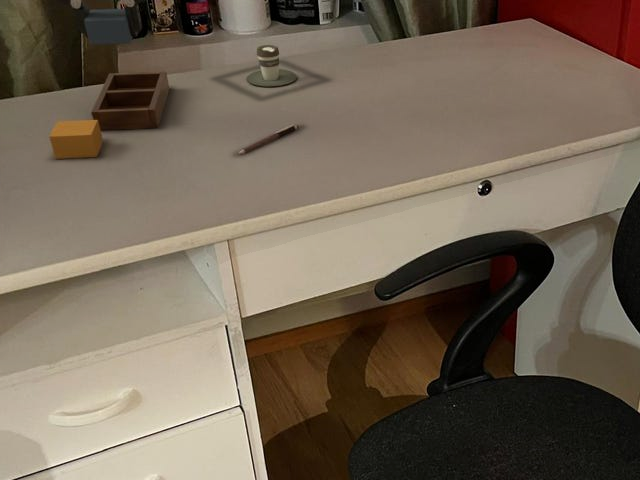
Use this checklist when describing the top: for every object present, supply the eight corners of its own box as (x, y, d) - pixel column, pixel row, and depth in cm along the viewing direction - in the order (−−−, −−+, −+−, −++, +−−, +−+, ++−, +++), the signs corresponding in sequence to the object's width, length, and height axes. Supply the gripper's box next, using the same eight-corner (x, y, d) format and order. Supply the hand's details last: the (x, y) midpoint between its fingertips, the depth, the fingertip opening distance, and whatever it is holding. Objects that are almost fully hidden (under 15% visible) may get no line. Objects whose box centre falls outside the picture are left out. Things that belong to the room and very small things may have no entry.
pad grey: (89, 44, 111) (83, 20, 109) (96, 33, 115) (90, 9, 113) (130, 43, 112) (125, 19, 110) (135, 31, 116) (130, 8, 114)
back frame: (95, 130, 117) (91, 112, 115) (113, 90, 129) (109, 73, 127) (158, 127, 118) (154, 109, 116) (169, 88, 130) (166, 71, 128)
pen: (296, 128, 119) (295, 121, 119) (300, 129, 119) (299, 123, 119) (236, 155, 112) (235, 148, 111) (240, 157, 112) (239, 150, 111)
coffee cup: (280, 61, 141) (276, 30, 138) (325, 80, 134) (323, 48, 131) (216, 78, 134) (210, 45, 131) (260, 99, 127) (256, 65, 124)
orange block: (55, 159, 109) (48, 136, 107) (63, 143, 113) (57, 121, 111) (97, 157, 110) (91, 134, 108) (103, 141, 114) (97, 119, 112)
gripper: (145, -116, 107) (171, 25, 117) (22, -116, 105) (60, 28, 115) (137, -105, 101) (166, 42, 111) (6, -105, 99) (48, 46, 109)
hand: (112, 34), depth 113 cm, fingers closed on pad grey, 5 cm apart
